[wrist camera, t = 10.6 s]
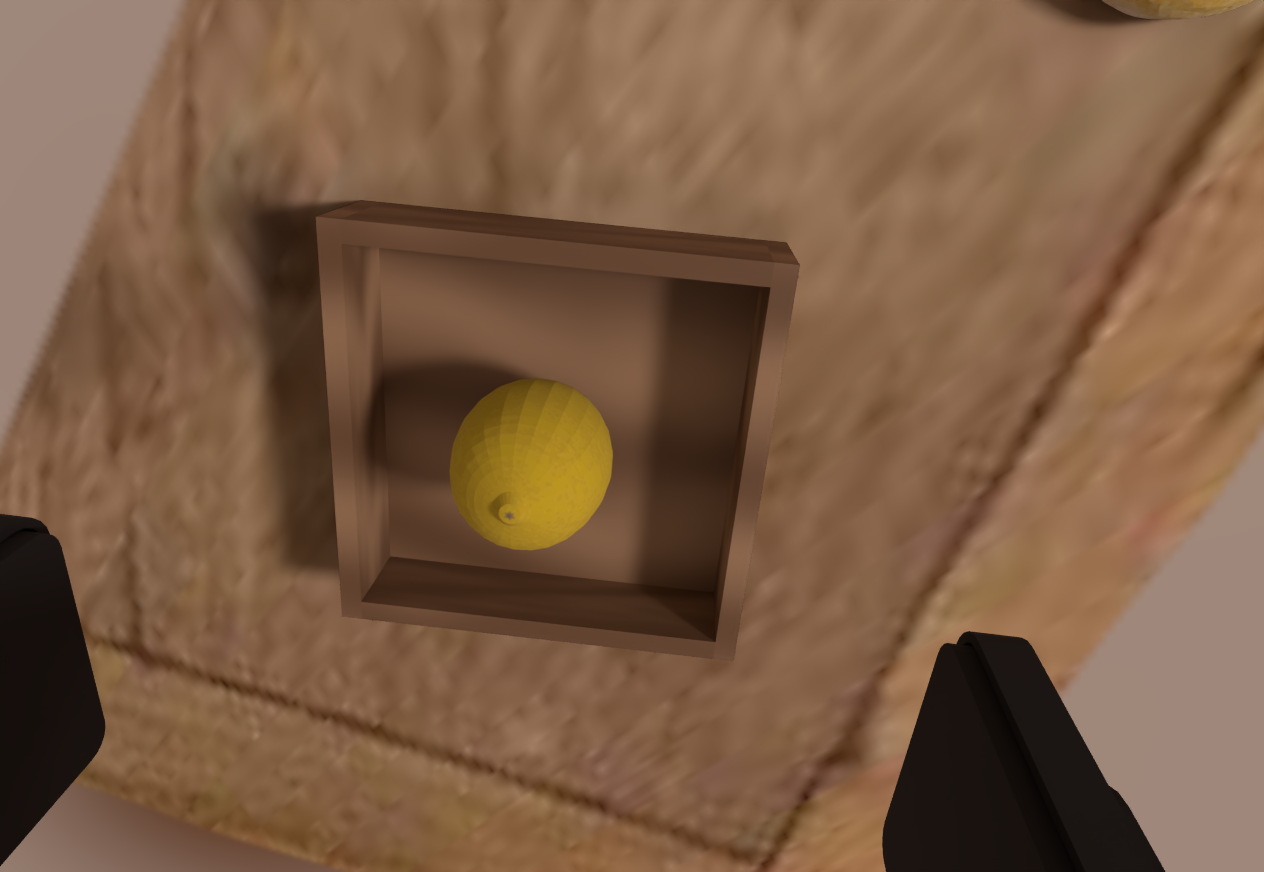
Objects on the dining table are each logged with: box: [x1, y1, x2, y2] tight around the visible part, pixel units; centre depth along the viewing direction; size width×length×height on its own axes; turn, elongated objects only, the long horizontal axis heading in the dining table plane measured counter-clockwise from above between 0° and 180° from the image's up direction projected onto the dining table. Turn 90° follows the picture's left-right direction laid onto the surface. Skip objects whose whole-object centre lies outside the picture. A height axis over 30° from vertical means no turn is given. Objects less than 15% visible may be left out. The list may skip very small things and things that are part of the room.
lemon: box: [449, 378, 613, 550], centre depth 29 cm, size 6×6×8 cm
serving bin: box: [316, 200, 800, 661], centre depth 31 cm, size 16×16×4 cm
